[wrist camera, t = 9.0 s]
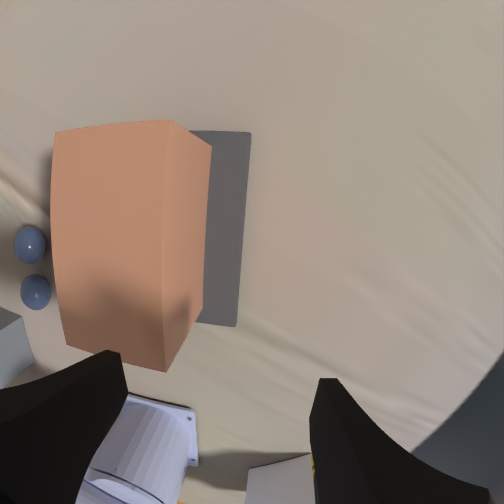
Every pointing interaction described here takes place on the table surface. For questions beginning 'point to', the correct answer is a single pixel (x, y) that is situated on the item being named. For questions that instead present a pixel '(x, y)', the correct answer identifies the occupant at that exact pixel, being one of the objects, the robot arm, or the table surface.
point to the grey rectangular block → (13, 347)
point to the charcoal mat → (224, 224)
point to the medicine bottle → (283, 483)
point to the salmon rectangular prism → (129, 237)
